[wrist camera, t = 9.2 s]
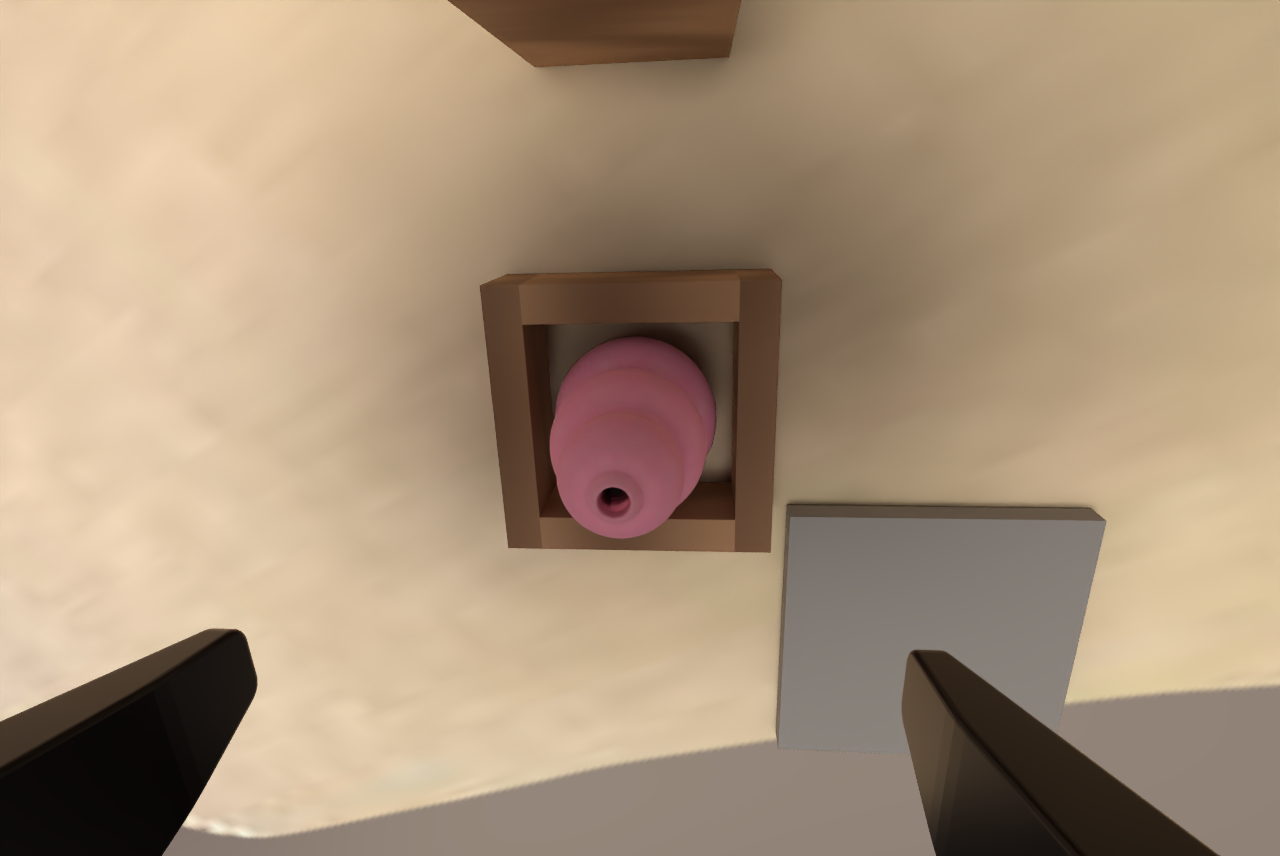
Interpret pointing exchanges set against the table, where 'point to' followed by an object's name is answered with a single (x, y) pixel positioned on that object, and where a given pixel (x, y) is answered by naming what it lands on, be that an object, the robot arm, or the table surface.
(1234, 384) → the table surface
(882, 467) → the table surface
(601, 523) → the dog chew toy
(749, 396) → the toy holder
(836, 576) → the slate mat
